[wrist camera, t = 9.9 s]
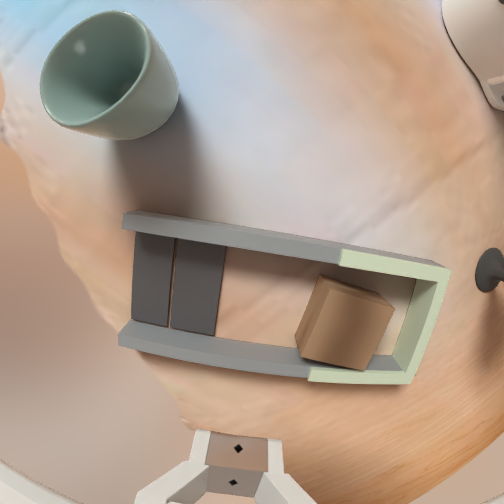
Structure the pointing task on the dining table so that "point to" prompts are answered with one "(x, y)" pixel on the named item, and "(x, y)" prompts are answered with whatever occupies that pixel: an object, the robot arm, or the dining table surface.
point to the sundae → (490, 270)
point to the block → (342, 324)
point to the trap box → (208, 288)
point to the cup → (109, 78)
